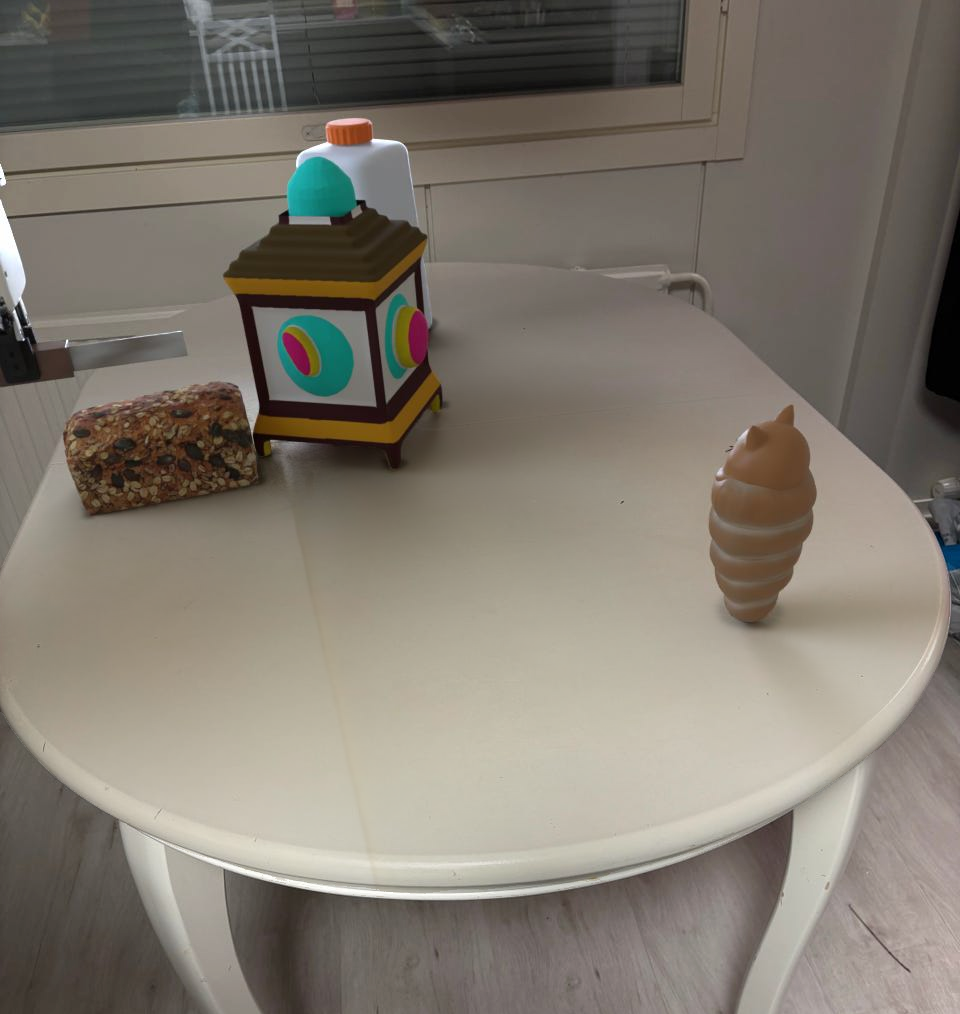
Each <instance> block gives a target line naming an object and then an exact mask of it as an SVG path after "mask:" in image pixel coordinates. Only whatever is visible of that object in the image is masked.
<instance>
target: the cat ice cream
mask: <svg viewBox="0 0 960 1014" xmlns="http://www.w3.org/2000/svg"><path fill="white" fill-rule="evenodd" d="M794 425H795V407H794V404H789V405H787V406H786V407H784V408H783V409H782V410H781V411H780V412H779V413H778V414H777V415H776V417H775V418H774V419H773V420H769V421H763V422H760V423H757V424H752V425H751V426H750V427H749V428H747V429H745V431H744V432H743V433H741V435H740V436H739V437H738V438H736V440H735V441H736V442H735V443H734V445H729V447H730V448H729V449H727V450H725V451H724V453H727V452H729V454H728V456H727V457H726V460H725V463H724V465H723V466H721V467H720V468H719V469H718V470H717V471H716V473H715V475H714V482H713V484H712V486H711V494H710V499H711V507H710V510H709V515H708V531H709V535H710V537H711V541H710V545H709V558H710V559H709V560H710V561H711V563H712V565H713V567H714V578H715V580H716V584H717V586H718V588H719V590H720V591H721V592H722V594H723V601H724V605H725V609H726V610H727V612H728V613H729V615H730V616H731V617H732V618H734V619H735V620H738V621H741V622H747V623H754V622H759V621H761V620H764V619H765V618H767V617H768V616H769V615H770V614H771V613H772V611H773V609H774V608H775V606H776V604H777V602H778V599H779V596H780V592H781V591H783V590H784V589H785V588H786V587H787V586H788V584H789V583H790V582H791V581H792V578H793V575H794V570H795V566H796V564H797V563H798V561H799V560H800V557H801V554H802V551H803V546H804V542H805V541H806V540H807V539H808V538H809V536H810V535H811V533H812V530H813V525H814V510H813V508H814V505H815V504H816V500H817V496H818V491H817V490H818V489H817V485H816V482H815V477H814V475H813V473H812V471H811V469H810V465H811V464H810V463H811V451H810V450H811V449H810V446H809V443H808V440H807V439H806V437H805V436H804V434H803V433H802V432H801V431H800V430H799V429H797V428H796V427H795V426H794Z"/></svg>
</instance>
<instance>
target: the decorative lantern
mask: <svg viewBox="0 0 960 1014" xmlns="http://www.w3.org/2000/svg"><path fill="white" fill-rule="evenodd" d="M286 187H287V189H286V199H287V207H288V209H286V210H285V211H283V212H281V213H280V214H278V222H277V223H275V224H274V225H272V226H271V227H270V228H269V231H268V233H267V234H266V235H264V236H263V237H260V238H259V239H258V240H256V241H254V242H253V243H251V244H249V245H248V246H246V247H245V248H243V249H241V250H240V251H239V254H238V256H237V257H236V258H235V259H234V260H232V261H231V262H230V263H229V265H228V269H227V270H225V271H224V272H223V274H222V277H223V280H224V282H225V284H226V285H227V286H228V289H230V291H231V292H232V294H233V295H234V296H235V297H236V300H237V302H238V304H239V311H240V316H241V320H242V325H243V331H244V335H245V340H246V345H247V350H248V351H247V352H248V356H249V360H250V361H249V362H250V365H251V371H252V375H253V380H254V385H255V391H256V396H257V401H258V412H257V415H256V419H255V422H254V425H253V429H252V438H253V443H254V449H255V454H256V455H257V456H258V457H266V456H269V455H270V454H271V453H272V443H271V441H278V442H279V441H280V442H289V443H290V442H292V443H305V444H316V445H317V444H318V445H330V446H331V445H332V446H343V447H344V446H345V447H356V448H358V447H359V448H370V449H371V448H372V449H377V450H380V451H382V452H383V453H384V455H385V456H386V461H387V462H388V463H387V465H388V468H389V469H390V470H391V471H397V470H399V469H400V467H401V463H402V446H403V443H404V441H405V439H406V437H407V436H408V435H409V434H410V432H411V431H412V430H413V429H414V427H415V426H416V424H417V423H418V421H419V420H420V419H421V417H422V416H423V415H424V413H425V412H426V411H427V409H428V408H430V410H431V411H432V412H434V413H439V412H440V411H441V410H442V407H443V399H444V396H443V387H442V384H441V382H440V379H439V378H438V377H437V374H436V373H435V371H434V370H433V368H432V367H431V364H430V361H429V350H428V346H429V329H428V325H427V320H426V318H425V313H424V301H423V289H422V277H421V258H422V255H423V256H424V251H425V249H426V247H427V244H428V243H427V242H428V234H427V233H424V232H422V231H421V229H420V227H419V228H418V227H415V226H411V225H410V224H409V222H408V221H406V220H396V219H388V217H387V216H385V215H380V214H378V212H377V210H376V209H374V208H368V207H367V206H366V200H356V198H355V191H354V187H353V184H352V181H351V179H350V177H349V176H348V175H347V174H346V173H345V172H344V171H343V170H342V169H341V168H340V167H339V166H337V165H336V164H335V163H334V162H332V161H330V160H328V159H326V158H323V157H320V156H318V157H311V158H309V159H307V160H305V161H304V162H303V163H302V164H301V165H300V166H299V167H298V168H297V167H296V169H295V171H294V173H293V174H292V176H291V178H290V179H289V180H288V182H287V186H286Z"/></svg>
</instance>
